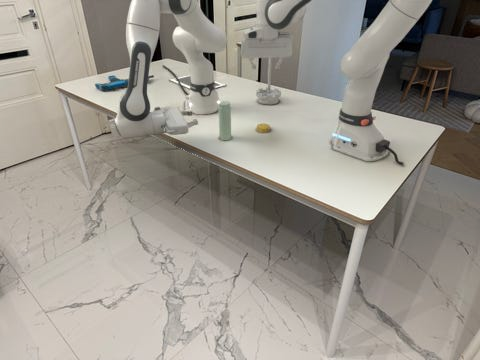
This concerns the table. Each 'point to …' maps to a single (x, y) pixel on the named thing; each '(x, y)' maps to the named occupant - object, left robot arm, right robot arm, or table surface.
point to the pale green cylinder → (225, 120)
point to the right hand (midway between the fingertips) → (265, 68)
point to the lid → (263, 127)
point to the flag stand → (268, 91)
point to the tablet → (187, 79)
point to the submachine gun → (114, 83)
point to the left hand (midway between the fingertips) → (194, 117)
